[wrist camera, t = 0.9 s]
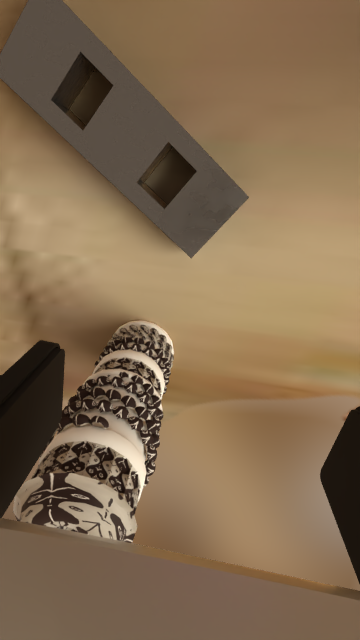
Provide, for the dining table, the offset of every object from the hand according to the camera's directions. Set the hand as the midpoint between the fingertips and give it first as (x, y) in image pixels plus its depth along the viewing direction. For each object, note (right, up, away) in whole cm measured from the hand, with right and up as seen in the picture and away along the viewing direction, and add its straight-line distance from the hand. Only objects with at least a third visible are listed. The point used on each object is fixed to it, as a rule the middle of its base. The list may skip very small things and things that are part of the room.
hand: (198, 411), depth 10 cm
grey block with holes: (-5, +21, +23) cm, 32 cm away
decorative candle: (-6, -1, +32) cm, 33 cm away
